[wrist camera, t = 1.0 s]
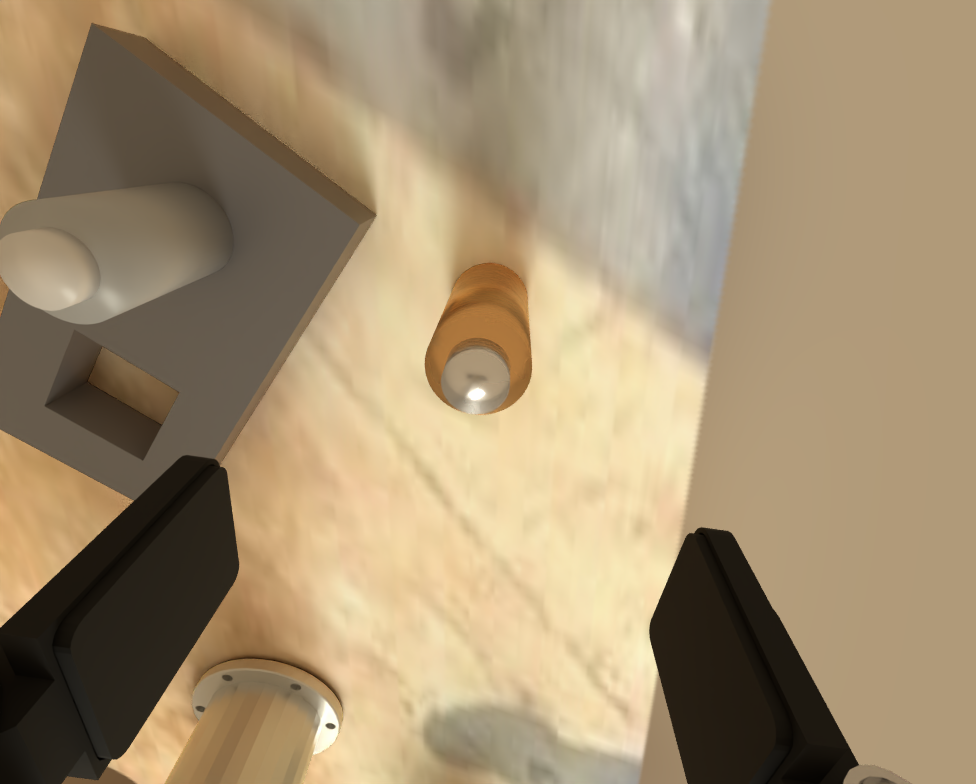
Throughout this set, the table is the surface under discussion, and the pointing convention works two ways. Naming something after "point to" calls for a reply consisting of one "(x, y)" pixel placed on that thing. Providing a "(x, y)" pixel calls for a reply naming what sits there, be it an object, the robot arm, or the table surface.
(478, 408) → the amber bottle
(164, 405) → the table surface
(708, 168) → the table surface
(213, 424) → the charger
